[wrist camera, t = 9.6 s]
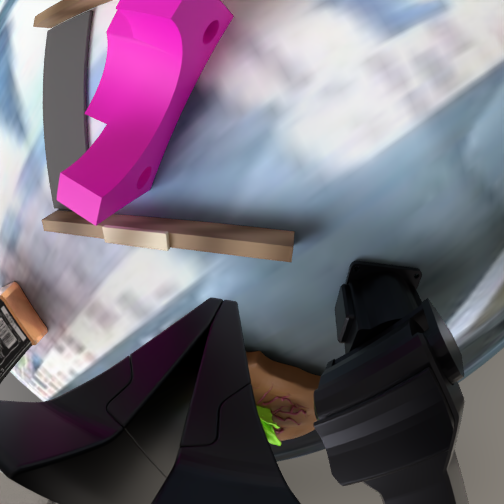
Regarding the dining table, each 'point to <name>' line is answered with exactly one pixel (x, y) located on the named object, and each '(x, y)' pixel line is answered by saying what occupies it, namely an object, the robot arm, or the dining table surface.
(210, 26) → the toy block
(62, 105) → the trap mat
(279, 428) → the plant
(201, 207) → the dining table surface
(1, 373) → the whiskey bottle
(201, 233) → the lane rails
